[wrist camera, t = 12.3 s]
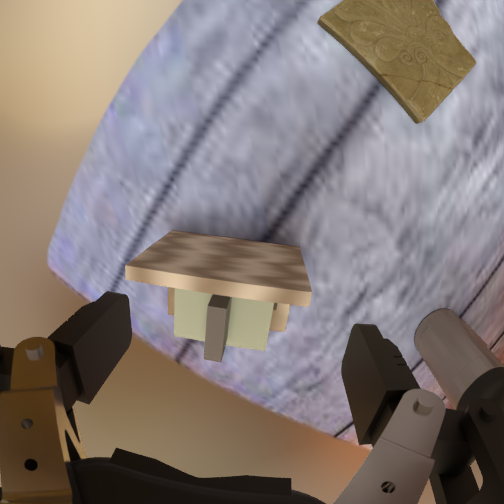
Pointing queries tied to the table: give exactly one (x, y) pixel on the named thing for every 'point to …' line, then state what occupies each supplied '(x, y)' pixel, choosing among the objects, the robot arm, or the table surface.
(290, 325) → the table surface
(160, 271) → the wooden stand
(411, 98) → the decorative tile
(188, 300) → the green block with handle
